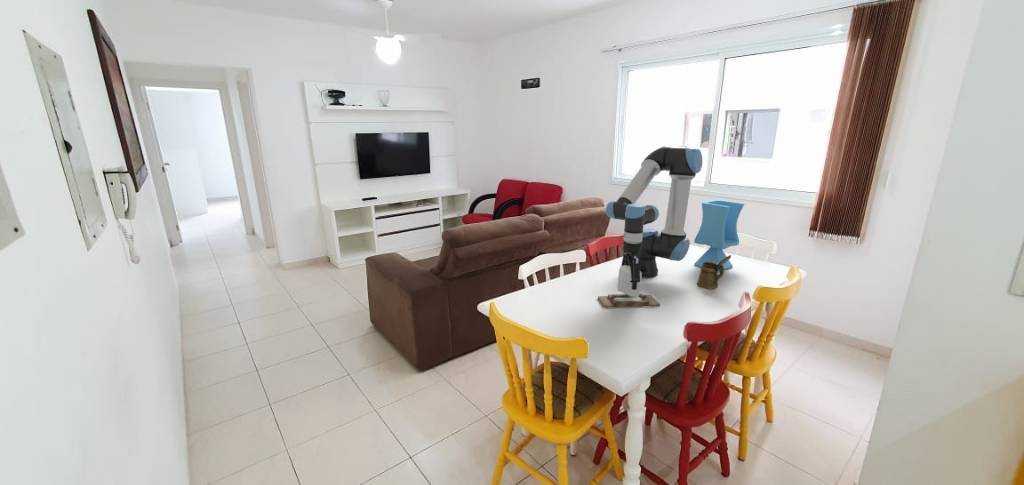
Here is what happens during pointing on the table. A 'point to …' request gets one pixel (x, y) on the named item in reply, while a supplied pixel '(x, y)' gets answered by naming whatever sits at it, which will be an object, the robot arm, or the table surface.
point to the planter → (718, 230)
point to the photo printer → (627, 281)
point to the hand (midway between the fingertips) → (628, 291)
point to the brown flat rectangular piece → (627, 300)
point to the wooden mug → (711, 274)
